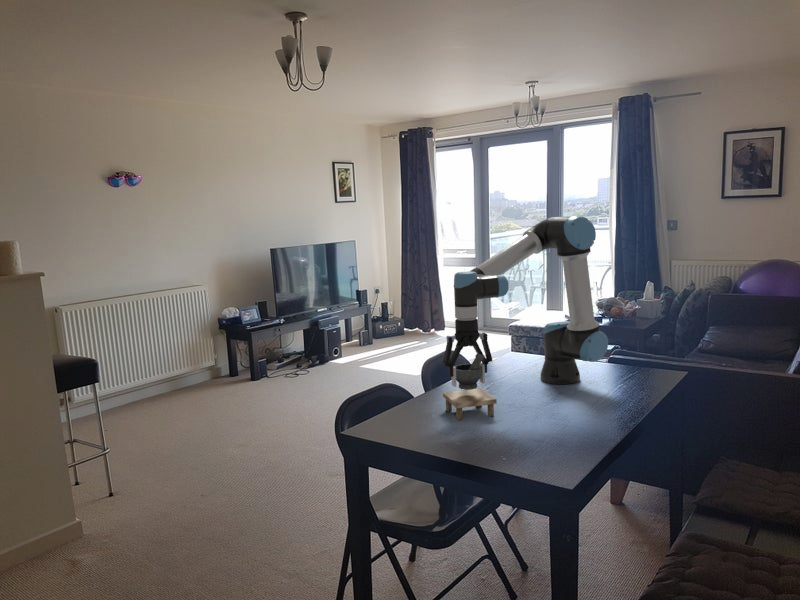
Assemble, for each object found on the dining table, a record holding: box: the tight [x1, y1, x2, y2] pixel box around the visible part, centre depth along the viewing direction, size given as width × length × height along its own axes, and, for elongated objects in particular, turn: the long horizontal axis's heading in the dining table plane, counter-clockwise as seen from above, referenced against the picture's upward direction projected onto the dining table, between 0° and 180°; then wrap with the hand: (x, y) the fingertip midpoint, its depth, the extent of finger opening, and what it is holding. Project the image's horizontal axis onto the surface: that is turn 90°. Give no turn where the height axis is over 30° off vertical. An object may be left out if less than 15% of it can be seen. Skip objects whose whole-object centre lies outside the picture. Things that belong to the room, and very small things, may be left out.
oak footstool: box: [442, 387, 498, 422], centre depth 202 cm, size 14×14×6 cm
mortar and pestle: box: [454, 353, 484, 390], centre depth 200 cm, size 11×9×12 cm
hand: (468, 384), depth 201 cm, fingers closed on mortar and pestle, 9 cm apart
